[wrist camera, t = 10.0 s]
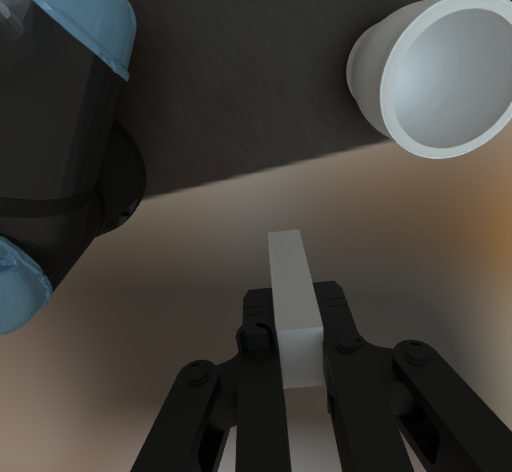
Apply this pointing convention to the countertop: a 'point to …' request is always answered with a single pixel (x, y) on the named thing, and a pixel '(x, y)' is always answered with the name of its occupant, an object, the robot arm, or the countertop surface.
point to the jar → (436, 75)
